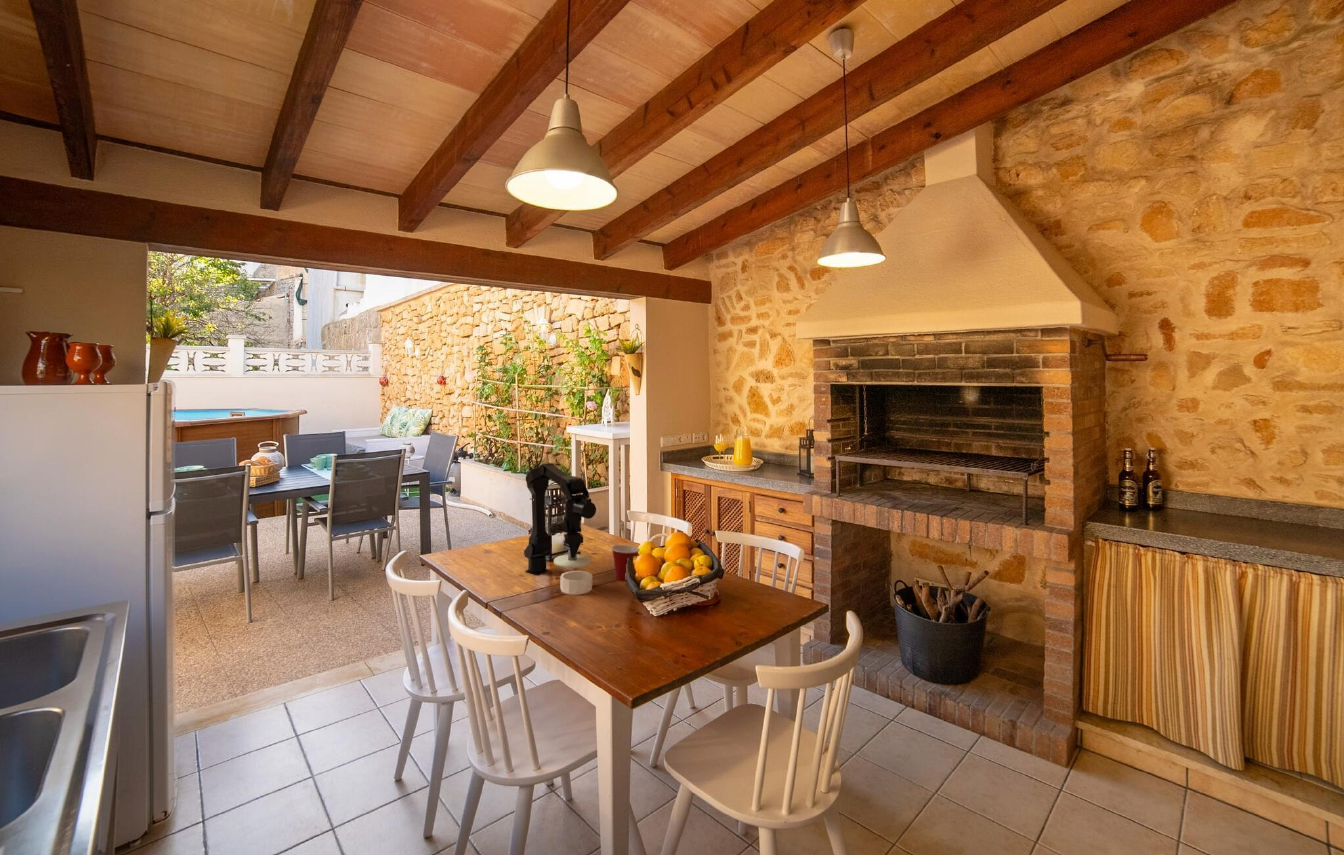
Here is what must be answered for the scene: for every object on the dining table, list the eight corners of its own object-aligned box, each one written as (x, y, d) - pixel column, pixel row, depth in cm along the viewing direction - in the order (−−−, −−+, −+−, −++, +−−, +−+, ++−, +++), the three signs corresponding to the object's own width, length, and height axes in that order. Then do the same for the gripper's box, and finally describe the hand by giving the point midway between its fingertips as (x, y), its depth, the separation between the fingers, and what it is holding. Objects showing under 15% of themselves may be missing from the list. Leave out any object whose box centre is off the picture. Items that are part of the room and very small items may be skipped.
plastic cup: (644, 579, 227) (645, 548, 226) (621, 585, 219) (622, 553, 218) (627, 571, 235) (628, 541, 234) (604, 577, 227) (605, 546, 226)
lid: (546, 563, 210) (546, 550, 210) (571, 554, 221) (571, 542, 221) (573, 570, 203) (574, 557, 203) (598, 561, 214) (598, 548, 214)
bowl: (554, 590, 212) (554, 576, 211) (574, 582, 221) (574, 568, 221) (578, 597, 206) (578, 583, 206) (597, 588, 215) (598, 574, 215)
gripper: (549, 508, 218) (549, 550, 219) (550, 520, 200) (550, 565, 201) (580, 507, 221) (579, 549, 222) (583, 519, 202) (583, 564, 204)
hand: (572, 556), depth 212 cm, fingers closed on lid, 3 cm apart
